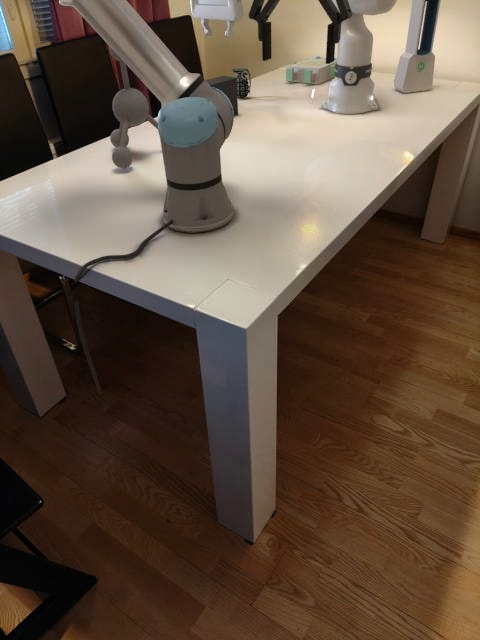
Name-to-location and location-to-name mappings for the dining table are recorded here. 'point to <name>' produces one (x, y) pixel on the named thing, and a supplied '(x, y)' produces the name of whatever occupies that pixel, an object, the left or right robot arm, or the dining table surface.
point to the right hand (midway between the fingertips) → (218, 36)
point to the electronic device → (419, 63)
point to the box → (226, 89)
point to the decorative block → (311, 71)
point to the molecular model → (127, 116)
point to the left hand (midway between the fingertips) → (297, 61)
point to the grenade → (242, 83)
